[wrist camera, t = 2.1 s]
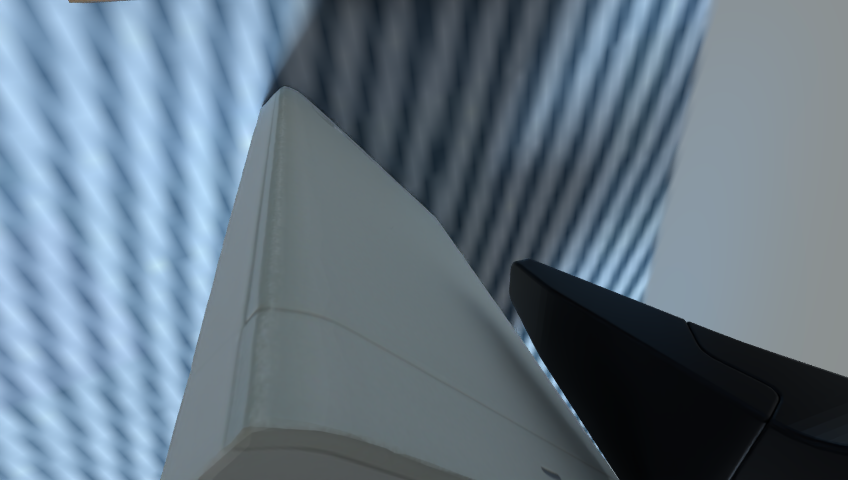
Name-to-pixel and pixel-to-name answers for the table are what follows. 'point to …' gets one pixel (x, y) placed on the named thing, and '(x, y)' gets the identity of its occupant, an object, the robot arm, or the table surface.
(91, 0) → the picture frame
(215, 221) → the table surface
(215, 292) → the external hard drive
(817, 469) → the robot arm
